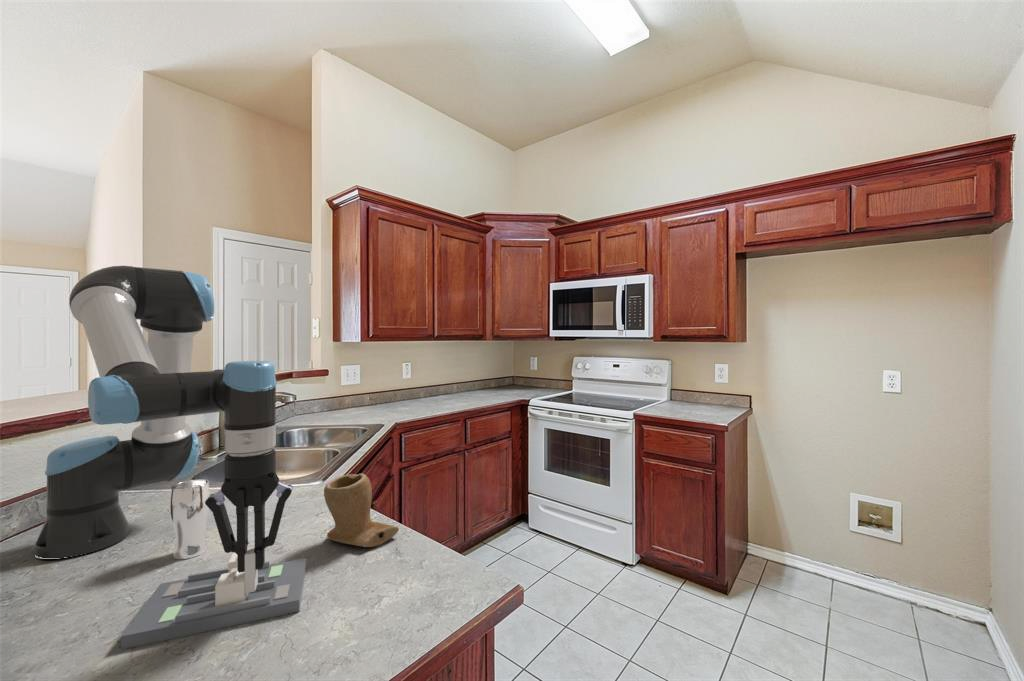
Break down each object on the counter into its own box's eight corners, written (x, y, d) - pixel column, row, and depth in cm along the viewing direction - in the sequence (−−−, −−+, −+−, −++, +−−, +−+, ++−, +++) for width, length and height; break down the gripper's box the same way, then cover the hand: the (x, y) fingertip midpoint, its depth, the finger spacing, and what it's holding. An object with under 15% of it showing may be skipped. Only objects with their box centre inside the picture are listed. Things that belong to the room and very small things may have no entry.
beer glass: (217, 547, 95) (217, 480, 95) (184, 563, 89) (184, 491, 89) (196, 542, 98) (195, 477, 98) (162, 557, 91) (162, 487, 91)
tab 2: (215, 611, 70) (215, 581, 70) (221, 597, 73) (221, 569, 73) (243, 605, 71) (243, 576, 71) (248, 592, 75) (248, 564, 75)
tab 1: (228, 584, 77) (228, 558, 77) (233, 573, 81) (233, 548, 81) (253, 580, 78) (253, 554, 78) (258, 569, 82) (257, 544, 82)
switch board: (121, 649, 64) (120, 629, 64) (160, 594, 78) (160, 577, 78) (299, 611, 73) (299, 593, 73) (306, 567, 87) (306, 553, 87)
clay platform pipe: (312, 545, 96) (312, 479, 96) (353, 525, 107) (353, 465, 107) (362, 560, 90) (361, 489, 90) (400, 537, 100) (400, 473, 100)
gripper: (198, 460, 67) (199, 610, 67) (290, 452, 72) (291, 591, 72) (211, 449, 74) (212, 584, 74) (295, 442, 79) (295, 569, 79)
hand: (251, 588), depth 73 cm, fingers closed
